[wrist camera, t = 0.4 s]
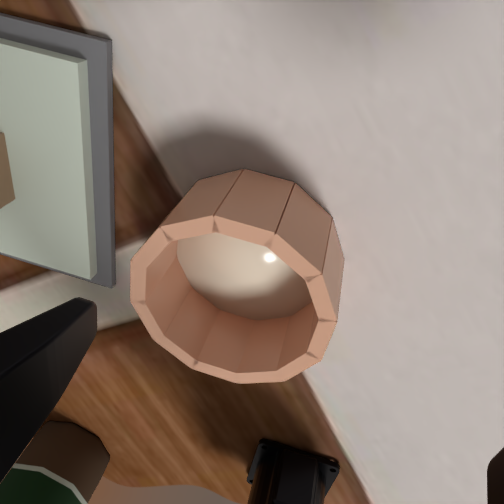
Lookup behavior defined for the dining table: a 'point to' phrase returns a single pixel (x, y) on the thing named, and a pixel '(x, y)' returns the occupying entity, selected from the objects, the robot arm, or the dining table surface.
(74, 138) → the cover sheet
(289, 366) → the bowl
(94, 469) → the beer bottle
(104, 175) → the mat
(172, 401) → the dining table surface
